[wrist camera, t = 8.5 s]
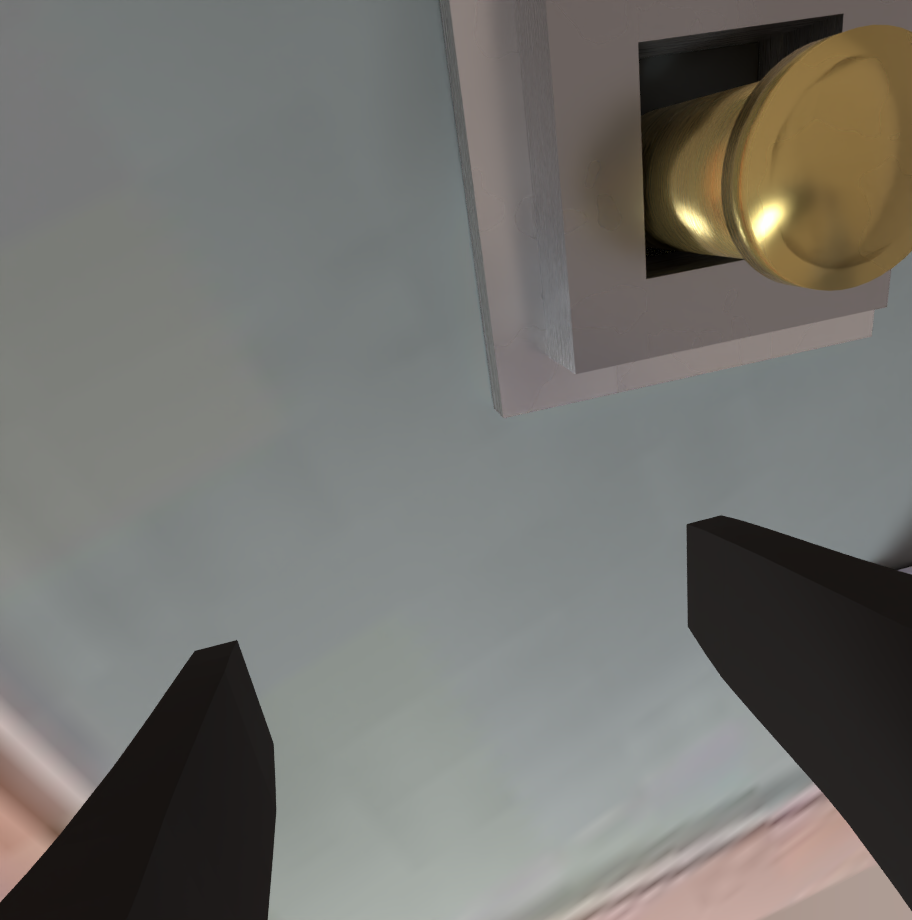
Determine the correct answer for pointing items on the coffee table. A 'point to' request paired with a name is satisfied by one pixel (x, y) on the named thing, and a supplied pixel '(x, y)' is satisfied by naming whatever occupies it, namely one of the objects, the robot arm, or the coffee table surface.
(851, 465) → the coffee table surface
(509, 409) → the white stepped square fixture
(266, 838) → the robot arm
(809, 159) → the pin
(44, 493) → the coffee table surface
